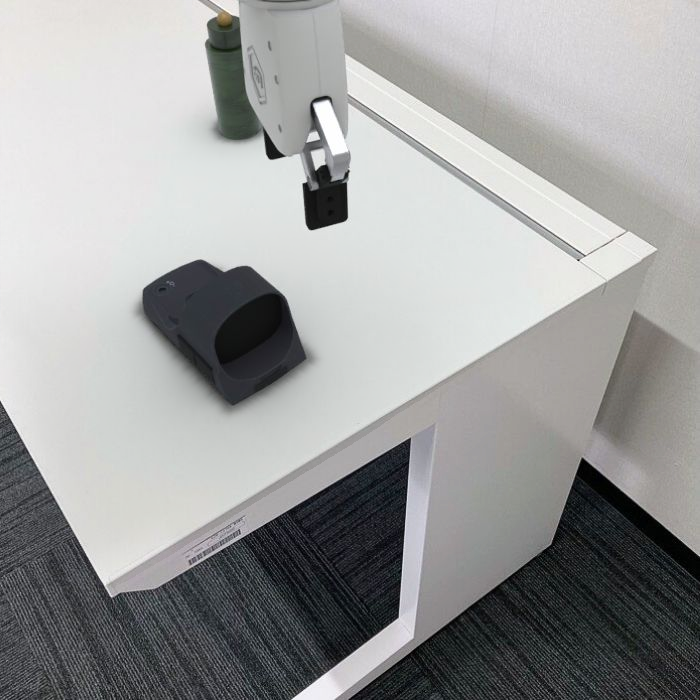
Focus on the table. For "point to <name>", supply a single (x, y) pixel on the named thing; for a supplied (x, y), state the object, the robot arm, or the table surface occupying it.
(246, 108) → the pepper mill
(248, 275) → the sight
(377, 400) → the table surface
